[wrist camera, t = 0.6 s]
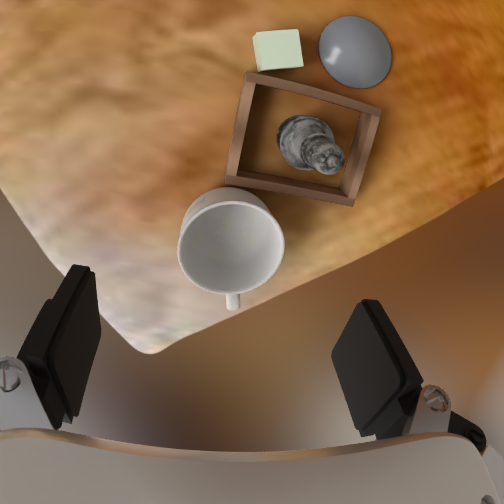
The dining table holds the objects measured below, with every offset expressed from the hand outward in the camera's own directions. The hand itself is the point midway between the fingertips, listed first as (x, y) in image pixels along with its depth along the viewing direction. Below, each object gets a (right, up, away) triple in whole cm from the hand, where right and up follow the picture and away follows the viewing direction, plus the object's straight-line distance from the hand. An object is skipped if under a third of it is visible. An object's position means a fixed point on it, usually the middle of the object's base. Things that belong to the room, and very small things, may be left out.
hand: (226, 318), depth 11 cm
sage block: (+3, +24, +18) cm, 30 cm away
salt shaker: (+6, +15, +23) cm, 29 cm away
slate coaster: (+13, +25, +18) cm, 33 cm away
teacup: (-2, +5, +29) cm, 29 cm away
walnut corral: (+6, +15, +23) cm, 28 cm away
